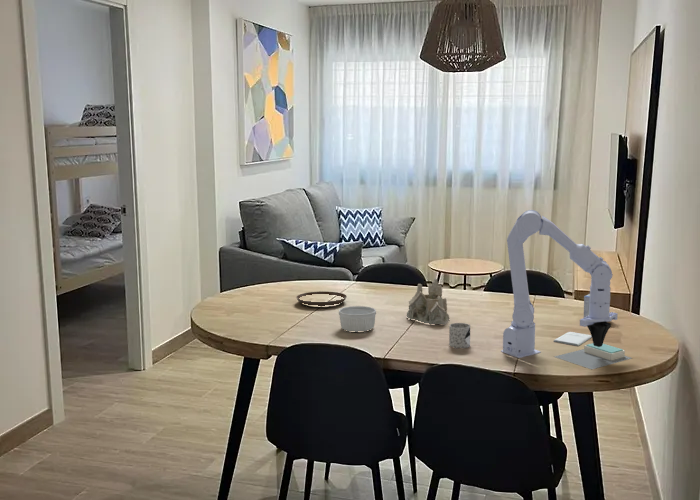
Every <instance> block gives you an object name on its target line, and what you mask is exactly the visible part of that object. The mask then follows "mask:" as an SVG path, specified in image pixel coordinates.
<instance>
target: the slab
mask: <svg viewBox="0 0 700 500" xmlns="http://www.w3.org/2000/svg"><path fill="white" fill-rule="evenodd" d="M583 346H584V347H583V349H584V352H586V353H589V354H592V355H595V356H599V357H602V358H605V359H608V360H615V359H619V358H622V357H625V356H626V355H625V354H626V351H625V350H624V349H623V348H620V347H615V346H614V345H613V346H612V345H609V344H606V343H603V345H602V346H601V347H597V346H594V344H593V342H592V343H588V344H585V345H583Z"/></svg>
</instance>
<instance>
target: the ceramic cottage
mask: <svg viewBox="0 0 700 500" xmlns="http://www.w3.org/2000/svg"><path fill="white" fill-rule="evenodd" d="M438 282H439V281H438V278H434V281H432V283H431V284H428V287H427V291H428V294H424V293H423V284H421V283H418V284H417V287H416V288H417V289H416V292H415V294H414V296H413V297H412V298H411V299H410V300H409V301H408V304H409V305H408V309H407V312H406V316H407V317H408V318H410V319H415V320H418V321H421V322H424V323H429V324H445V325H447V324H448V323H449V322H450V320H449V319H450V314H449V313H448V304H447V297H445V298H443V297H442V296H443V287H442V285H439V283H438ZM448 321H449V322H448ZM447 322H448V323H447Z"/></svg>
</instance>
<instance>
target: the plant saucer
mask: <svg viewBox="0 0 700 500" xmlns="http://www.w3.org/2000/svg"><path fill="white" fill-rule="evenodd" d="M312 294H329V295H337V296H341V297H343V298H344V299H341V300H336V301H328V302H311V301H303V300H300V299H299V298H300V297H302V296H306V295H312ZM295 298H296V299H297V301H298V303H300V302H301V303H304V304H308V305H318V306H325V305H334V304H339V303H341V302H343V301H344V302H345V300H346V299H347V294H345V293H343V292H336V291H325V290H324V291H323V290H322V291H321V290H320V291H311V292H310V291H309V292H304V293H300V294H298V295H296V297H295ZM344 302H343V303H344ZM301 303H300V304H301ZM341 304H342V303H341Z"/></svg>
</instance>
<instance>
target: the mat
mask: <svg viewBox="0 0 700 500" xmlns="http://www.w3.org/2000/svg"><path fill="white" fill-rule="evenodd" d="M553 357H554V358H557V359H558V360H562V361H565V362H569V363H571V364H574V365H577V366H580V367H583V368H586V369H589V370H591V371H592V370H596V369H599V368H602V367H607V366H610V365H613V364H617V363H620V362H624V361H628V360H631V359H633V357H631V356H628V355H625V357H622V358H619V359H615V360H608V359H605V358H602V357H599V356H595V355H592V354H589V353H586V352H584V348H583V349H579V350H575V351H570V352H567V353H563V354H559V355H555V356H553Z"/></svg>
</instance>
